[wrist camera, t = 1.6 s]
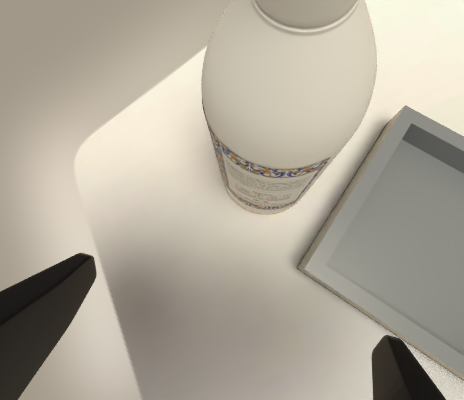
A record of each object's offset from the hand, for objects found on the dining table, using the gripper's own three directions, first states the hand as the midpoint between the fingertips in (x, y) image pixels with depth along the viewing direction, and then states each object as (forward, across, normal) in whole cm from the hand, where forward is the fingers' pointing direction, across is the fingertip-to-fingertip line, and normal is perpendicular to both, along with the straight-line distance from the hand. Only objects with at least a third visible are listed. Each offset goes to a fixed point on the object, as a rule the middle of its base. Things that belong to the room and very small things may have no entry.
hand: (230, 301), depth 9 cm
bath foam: (+16, 0, +4) cm, 16 cm away
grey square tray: (+14, -13, +5) cm, 20 cm away
